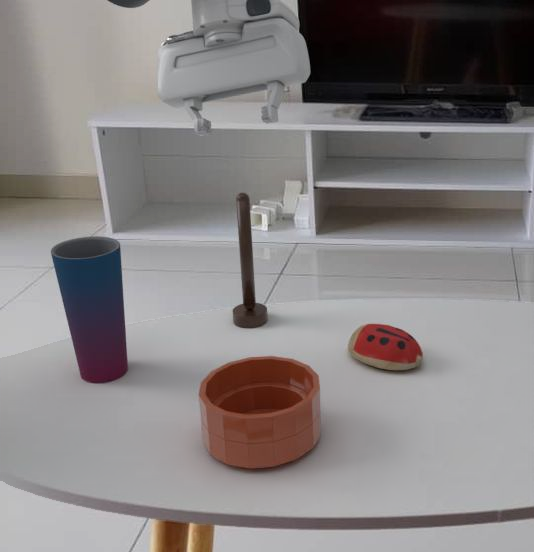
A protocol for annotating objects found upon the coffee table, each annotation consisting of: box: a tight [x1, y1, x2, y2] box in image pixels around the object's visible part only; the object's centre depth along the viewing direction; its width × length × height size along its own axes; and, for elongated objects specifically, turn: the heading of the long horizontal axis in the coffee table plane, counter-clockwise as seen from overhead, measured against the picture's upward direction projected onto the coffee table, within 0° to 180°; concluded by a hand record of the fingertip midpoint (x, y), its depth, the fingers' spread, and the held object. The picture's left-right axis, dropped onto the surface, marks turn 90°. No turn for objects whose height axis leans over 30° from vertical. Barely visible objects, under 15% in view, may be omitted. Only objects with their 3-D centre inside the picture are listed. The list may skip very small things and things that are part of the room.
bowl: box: [198, 355, 322, 469], centre depth 72 cm, size 11×11×6 cm
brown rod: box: [232, 192, 269, 329], centre depth 94 cm, size 4×4×17 cm
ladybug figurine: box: [347, 323, 424, 371], centre depth 88 cm, size 7×10×4 cm
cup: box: [50, 235, 129, 384], centre depth 82 cm, size 7×7×15 cm
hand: (236, 128), depth 95 cm, fingers open, 8 cm apart
